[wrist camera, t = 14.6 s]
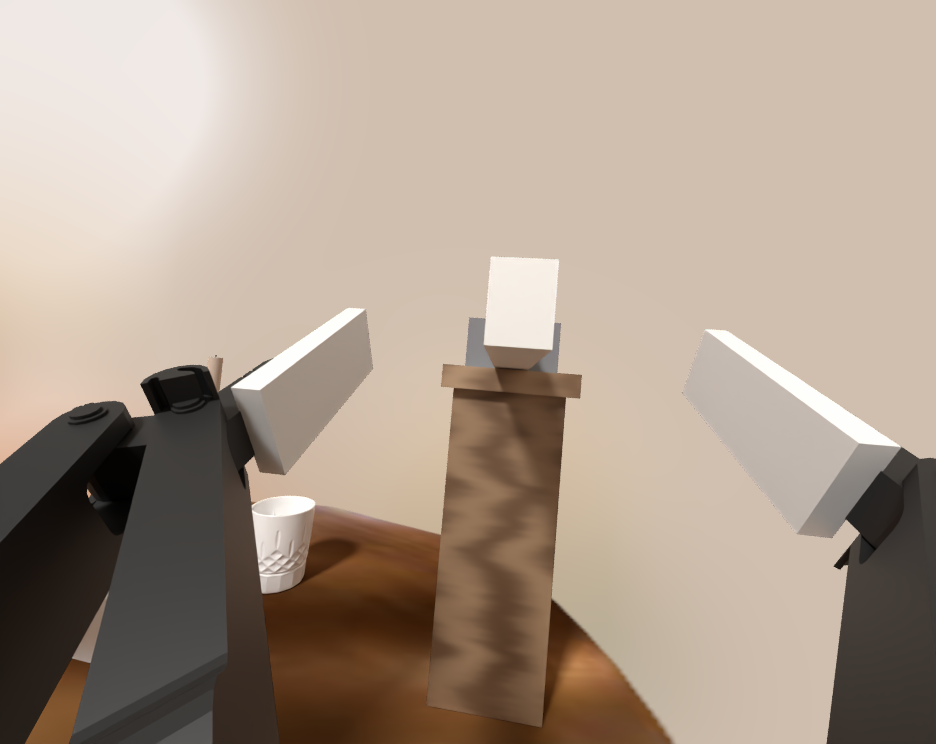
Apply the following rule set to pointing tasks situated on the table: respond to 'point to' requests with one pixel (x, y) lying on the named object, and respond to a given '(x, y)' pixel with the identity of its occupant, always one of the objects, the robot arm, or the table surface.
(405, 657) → the table surface
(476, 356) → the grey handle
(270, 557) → the white cup
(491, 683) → the tall stand
